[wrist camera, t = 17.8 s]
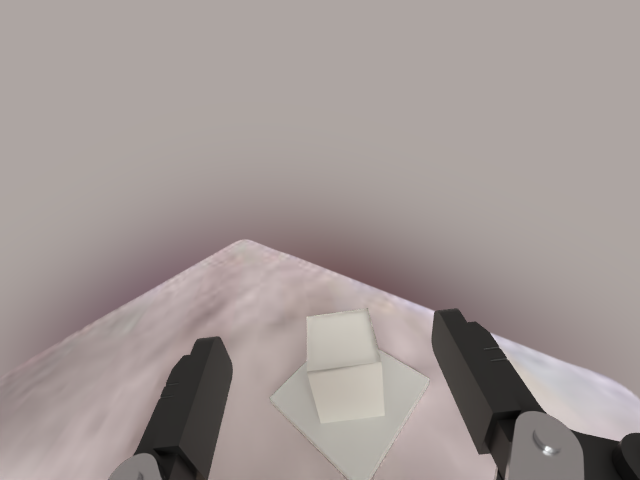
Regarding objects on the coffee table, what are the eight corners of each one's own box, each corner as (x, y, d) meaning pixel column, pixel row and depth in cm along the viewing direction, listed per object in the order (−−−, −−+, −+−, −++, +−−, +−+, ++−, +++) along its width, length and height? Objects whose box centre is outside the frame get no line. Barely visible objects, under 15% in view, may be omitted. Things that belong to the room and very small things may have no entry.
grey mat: (271, 403, 31) (269, 397, 31) (341, 332, 38) (340, 326, 38) (361, 493, 24) (360, 488, 23) (428, 384, 31) (429, 378, 30)
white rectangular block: (320, 423, 28) (306, 371, 24) (318, 366, 33) (306, 316, 29) (384, 415, 28) (381, 361, 24) (372, 359, 33) (367, 308, 29)
